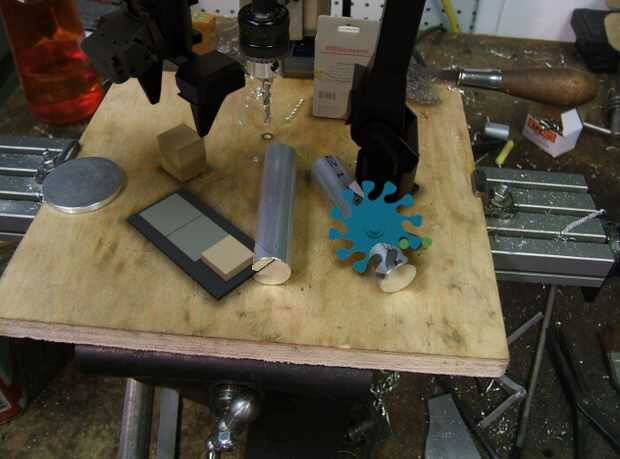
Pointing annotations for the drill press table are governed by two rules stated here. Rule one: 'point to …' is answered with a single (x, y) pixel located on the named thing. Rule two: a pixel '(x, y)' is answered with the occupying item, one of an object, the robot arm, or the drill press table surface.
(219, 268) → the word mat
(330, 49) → the ink cartridge box
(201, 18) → the supplement box
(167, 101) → the drill press table surface
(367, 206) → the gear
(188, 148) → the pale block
